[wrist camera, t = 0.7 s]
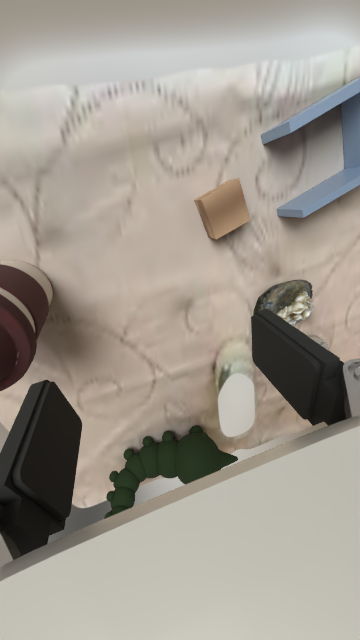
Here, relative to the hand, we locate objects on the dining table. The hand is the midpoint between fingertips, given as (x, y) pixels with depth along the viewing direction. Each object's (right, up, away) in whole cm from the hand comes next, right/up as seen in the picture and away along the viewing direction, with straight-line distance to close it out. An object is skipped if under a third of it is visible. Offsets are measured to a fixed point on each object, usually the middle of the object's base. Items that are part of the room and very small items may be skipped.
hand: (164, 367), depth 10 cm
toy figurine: (-2, -24, +38) cm, 45 cm away
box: (+18, +24, +19) cm, 35 cm away
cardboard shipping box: (+6, +17, +19) cm, 26 cm away
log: (+19, +5, +30) cm, 36 cm away
